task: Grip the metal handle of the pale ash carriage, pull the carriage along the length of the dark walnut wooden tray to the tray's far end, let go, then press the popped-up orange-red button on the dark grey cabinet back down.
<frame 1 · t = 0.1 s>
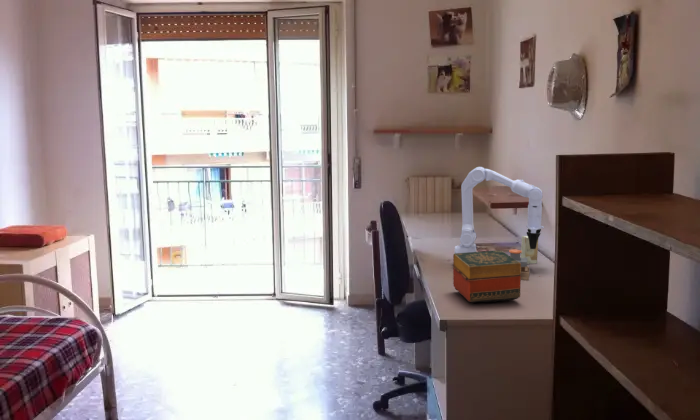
hand: (533, 247, 261), 10 cm above the table, tool pointing down, fingers open, 7 cm apart
decorative box: (484, 298, 220), on the table
carriage: (490, 264, 254), point 4 cm above the table, slide at 0.0 cm
reset button: (515, 256, 260), point 6 cm above the table, slide at 2.5 cm
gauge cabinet: (514, 270, 261), on the table
skincare box: (528, 263, 276), on the table
wooden tray: (502, 275, 253), on the table
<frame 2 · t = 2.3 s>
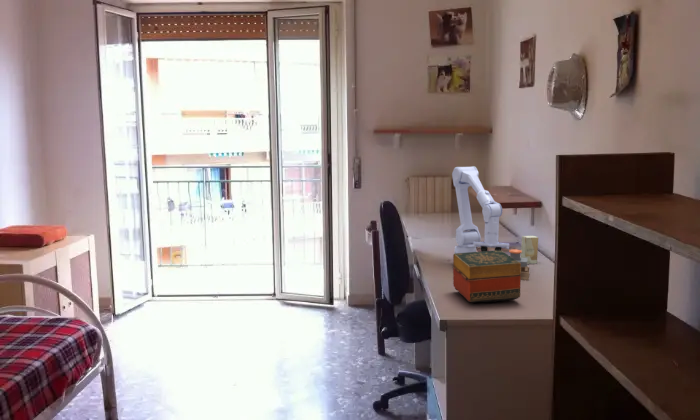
hand: (490, 264, 254), 4 cm above the table, tool pointing down, fingers closed on carriage, 3 cm apart
carriage: (490, 264, 254), point 4 cm above the table, slide at 0.0 cm, touching gripper
everything else where it was.
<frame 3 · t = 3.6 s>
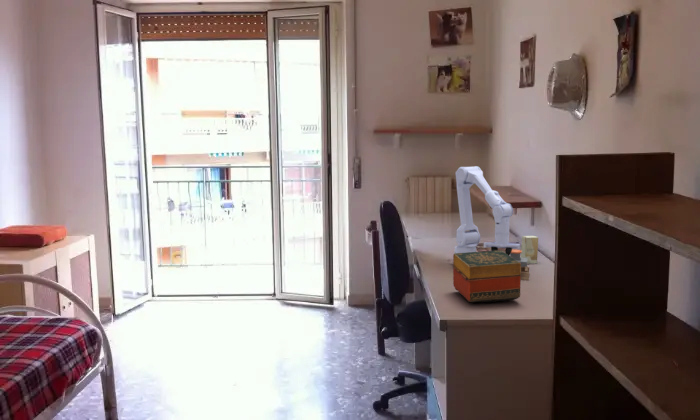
hand: (501, 265, 253), 4 cm above the table, tool pointing down, fingers closed on carriage, 3 cm apart
carriage: (501, 265, 253), point 4 cm above the table, slide at 4.2 cm, touching gripper
everything else where it was.
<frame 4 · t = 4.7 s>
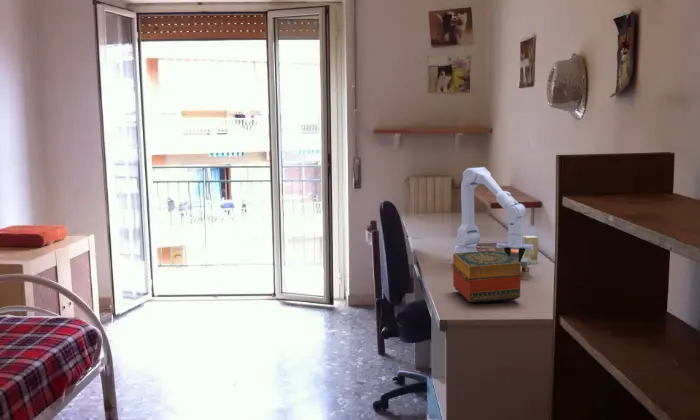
hand: (514, 266, 251), 4 cm above the table, tool pointing down, fingers closed on carriage, 3 cm apart
carriage: (514, 265, 251), point 4 cm above the table, slide at 9.5 cm, touching gripper
everything else where it was.
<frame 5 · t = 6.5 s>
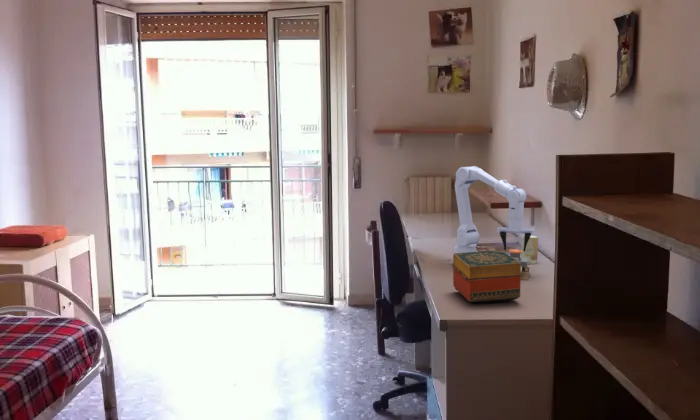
hand: (514, 250, 253), 10 cm above the table, tool pointing down, fingers open, 7 cm apart
carriage: (514, 265, 251), point 4 cm above the table, slide at 9.5 cm
everything else where it was.
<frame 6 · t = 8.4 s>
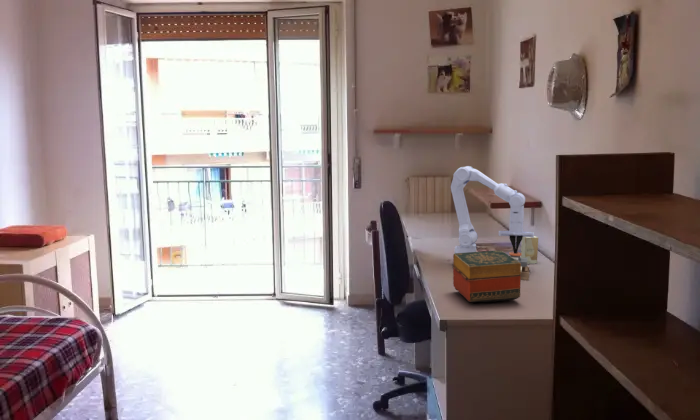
hand: (515, 253, 260), 8 cm above the table, tool pointing down, fingers closed, pressing on reset button
reset button: (515, 258, 261), point 5 cm above the table, slide at 1.4 cm, touching gripper
everything else where it was.
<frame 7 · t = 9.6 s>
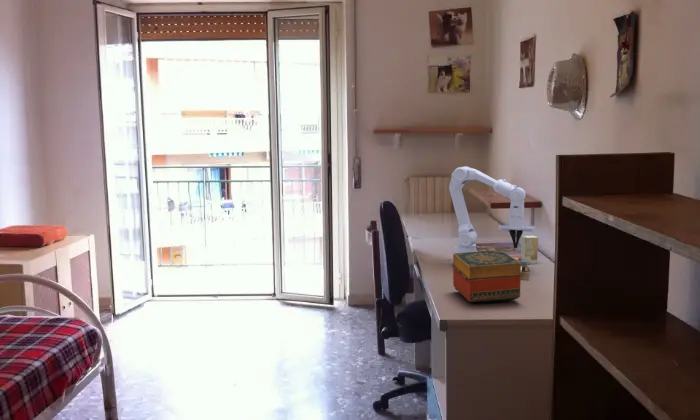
hand: (515, 247, 260), 10 cm above the table, tool pointing down, fingers closed
reset button: (515, 261, 261), point 4 cm above the table, slide at 0.2 cm
everything else where it was.
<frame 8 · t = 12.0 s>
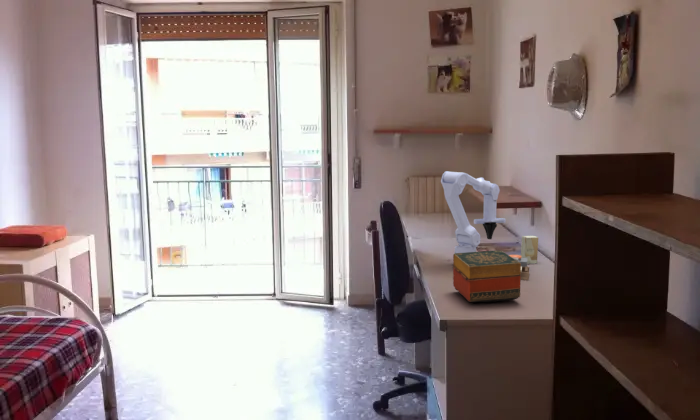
hand: (489, 238, 279), 10 cm above the table, tool pointing down, fingers closed
nothing on the table moved.
at the end: carriage slide at 9.5 cm; reset button slide at 0.2 cm; the gripper is holding nothing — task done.
